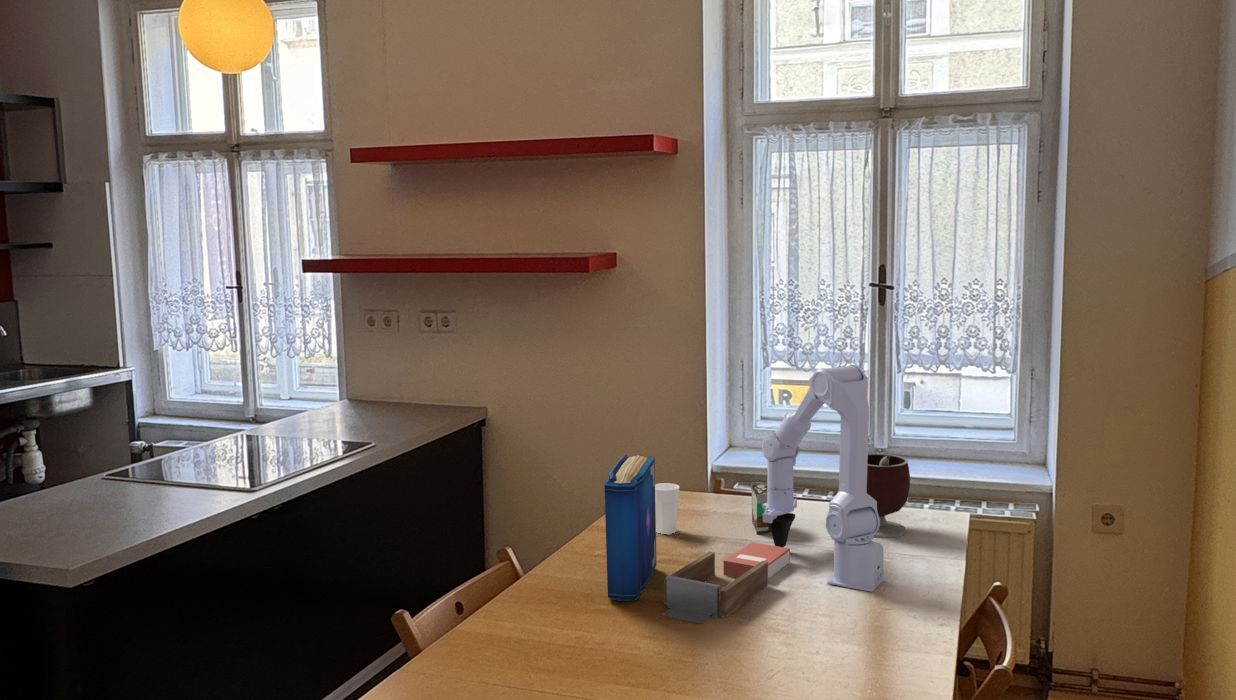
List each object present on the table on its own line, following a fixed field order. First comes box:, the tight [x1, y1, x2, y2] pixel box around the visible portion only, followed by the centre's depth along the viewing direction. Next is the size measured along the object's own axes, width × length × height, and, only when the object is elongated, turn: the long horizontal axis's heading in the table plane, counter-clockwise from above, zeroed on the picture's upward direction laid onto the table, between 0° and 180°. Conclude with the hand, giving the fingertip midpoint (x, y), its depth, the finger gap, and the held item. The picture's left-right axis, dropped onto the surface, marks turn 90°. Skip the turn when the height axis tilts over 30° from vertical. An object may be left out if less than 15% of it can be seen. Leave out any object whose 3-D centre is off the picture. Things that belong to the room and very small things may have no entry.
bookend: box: [662, 574, 721, 625], centre depth 186 cm, size 11×5×6 cm, turn 57°
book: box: [604, 454, 657, 602], centre depth 201 cm, size 22×7×25 cm, turn 168°
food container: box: [750, 481, 772, 535], centre depth 238 cm, size 12×6×10 cm, turn 179°
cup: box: [655, 482, 680, 535], centre depth 237 cm, size 7×7×11 cm
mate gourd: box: [867, 453, 911, 539], centre depth 234 cm, size 16×14×20 cm
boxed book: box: [723, 541, 791, 579], centre depth 211 cm, size 9×14×4 cm, turn 148°
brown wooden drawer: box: [663, 551, 769, 618], centre depth 196 cm, size 13×19×5 cm
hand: (780, 546), depth 222 cm, fingers closed
